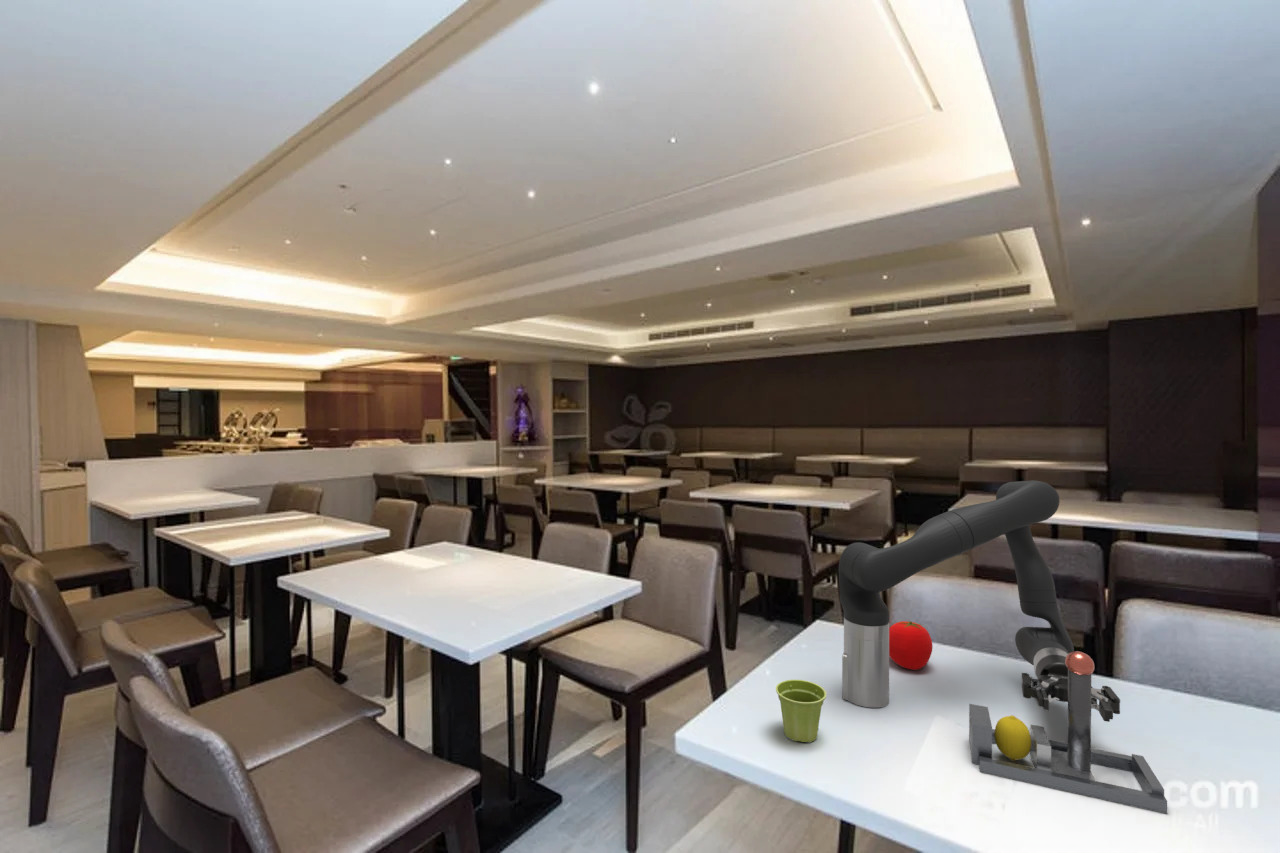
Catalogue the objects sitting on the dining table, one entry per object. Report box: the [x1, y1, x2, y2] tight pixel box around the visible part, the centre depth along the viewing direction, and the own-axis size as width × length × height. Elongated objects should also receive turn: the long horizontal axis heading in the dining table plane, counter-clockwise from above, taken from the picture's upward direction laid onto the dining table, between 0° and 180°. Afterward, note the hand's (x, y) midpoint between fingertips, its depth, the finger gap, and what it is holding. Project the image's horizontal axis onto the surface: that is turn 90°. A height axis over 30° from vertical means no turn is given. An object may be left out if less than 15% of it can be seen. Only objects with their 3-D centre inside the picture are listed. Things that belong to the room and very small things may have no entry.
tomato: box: [889, 620, 934, 671], centre depth 144 cm, size 10×11×11 cm
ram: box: [1029, 650, 1096, 781], centre depth 101 cm, size 8×8×21 cm
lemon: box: [994, 715, 1031, 762], centre depth 105 cm, size 6×6×8 cm
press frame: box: [968, 703, 1168, 814], centre depth 102 cm, size 26×13×7 cm, turn 64°
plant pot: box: [775, 679, 827, 743], centre depth 113 cm, size 9×9×9 cm
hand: (1076, 710), depth 101 cm, fingers open, 8 cm apart
